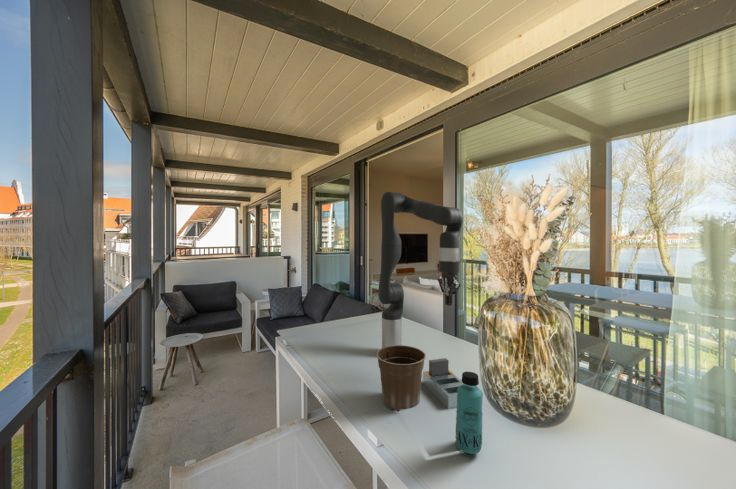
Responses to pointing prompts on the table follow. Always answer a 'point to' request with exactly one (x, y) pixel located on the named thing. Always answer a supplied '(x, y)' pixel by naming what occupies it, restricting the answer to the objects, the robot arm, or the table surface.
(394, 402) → the plant pot
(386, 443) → the table surface
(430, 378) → the rack
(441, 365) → the panel
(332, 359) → the table surface
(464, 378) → the beverage bottle
